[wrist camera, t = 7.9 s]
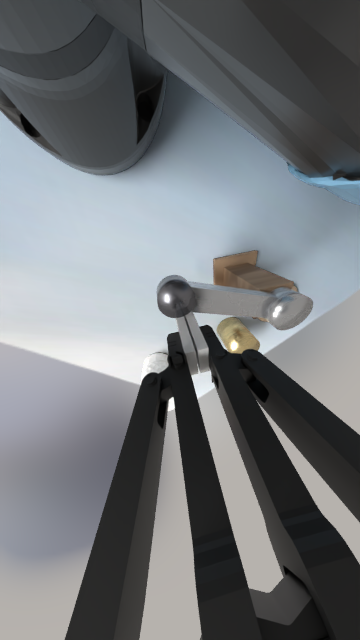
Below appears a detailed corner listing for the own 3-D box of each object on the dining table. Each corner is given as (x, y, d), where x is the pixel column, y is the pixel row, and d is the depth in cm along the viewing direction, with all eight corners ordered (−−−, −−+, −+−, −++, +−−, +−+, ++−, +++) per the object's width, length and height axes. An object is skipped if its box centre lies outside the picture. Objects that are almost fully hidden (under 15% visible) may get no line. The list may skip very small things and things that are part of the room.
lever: (300, 289, 15) (321, 298, 13) (279, 319, 17) (295, 331, 16) (159, 267, 12) (160, 276, 10) (154, 309, 14) (155, 323, 12)
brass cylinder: (216, 320, 30) (232, 343, 24) (241, 314, 30) (262, 335, 24) (216, 338, 33) (230, 362, 27) (239, 333, 33) (256, 356, 28)
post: (213, 258, 22) (248, 279, 14) (254, 250, 23) (312, 265, 14) (213, 297, 26) (241, 330, 18) (248, 289, 27) (290, 318, 19)
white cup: (175, 350, 33) (183, 392, 25) (171, 371, 37) (176, 412, 29) (141, 351, 31) (137, 395, 23) (141, 372, 35) (138, 416, 27)
